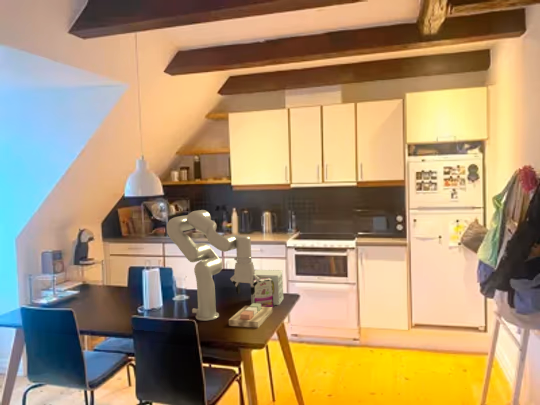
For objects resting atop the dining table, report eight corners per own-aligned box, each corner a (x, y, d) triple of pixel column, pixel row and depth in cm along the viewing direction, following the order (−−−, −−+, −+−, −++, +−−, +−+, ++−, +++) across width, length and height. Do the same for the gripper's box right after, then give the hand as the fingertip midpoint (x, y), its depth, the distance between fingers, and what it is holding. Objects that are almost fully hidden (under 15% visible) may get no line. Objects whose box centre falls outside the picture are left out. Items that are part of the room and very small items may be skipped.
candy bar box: (271, 305, 260) (270, 277, 259) (273, 307, 255) (272, 279, 254) (252, 307, 257) (251, 279, 256) (254, 309, 253) (253, 281, 251)
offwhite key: (245, 315, 236) (245, 309, 236) (248, 312, 241) (248, 307, 240) (254, 316, 234) (253, 310, 234) (257, 313, 239) (257, 307, 239)
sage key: (249, 311, 242) (249, 305, 242) (252, 308, 247) (252, 303, 247) (258, 311, 241) (258, 306, 241) (261, 309, 246) (261, 303, 245)
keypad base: (229, 325, 229) (228, 319, 228) (245, 310, 251) (245, 305, 251) (258, 327, 224) (258, 321, 224) (272, 312, 247) (272, 307, 246)
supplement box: (250, 304, 263) (249, 274, 262) (256, 298, 276) (255, 269, 275) (279, 305, 259) (278, 275, 258) (283, 298, 272) (282, 269, 270)
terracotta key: (240, 319, 229) (240, 314, 229) (243, 316, 234) (243, 311, 234) (249, 320, 228) (249, 314, 227) (252, 317, 232) (252, 311, 232)
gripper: (225, 261, 228) (227, 295, 229) (257, 262, 222) (259, 296, 224) (231, 258, 235) (232, 291, 236) (262, 259, 229) (263, 292, 231)
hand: (245, 293), depth 230 cm, fingers open, 7 cm apart
